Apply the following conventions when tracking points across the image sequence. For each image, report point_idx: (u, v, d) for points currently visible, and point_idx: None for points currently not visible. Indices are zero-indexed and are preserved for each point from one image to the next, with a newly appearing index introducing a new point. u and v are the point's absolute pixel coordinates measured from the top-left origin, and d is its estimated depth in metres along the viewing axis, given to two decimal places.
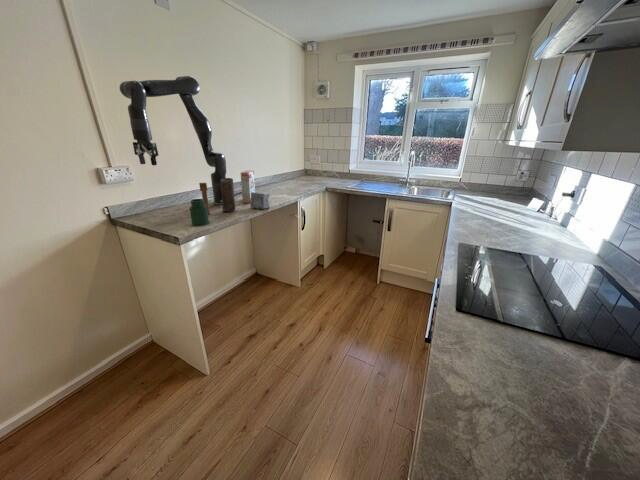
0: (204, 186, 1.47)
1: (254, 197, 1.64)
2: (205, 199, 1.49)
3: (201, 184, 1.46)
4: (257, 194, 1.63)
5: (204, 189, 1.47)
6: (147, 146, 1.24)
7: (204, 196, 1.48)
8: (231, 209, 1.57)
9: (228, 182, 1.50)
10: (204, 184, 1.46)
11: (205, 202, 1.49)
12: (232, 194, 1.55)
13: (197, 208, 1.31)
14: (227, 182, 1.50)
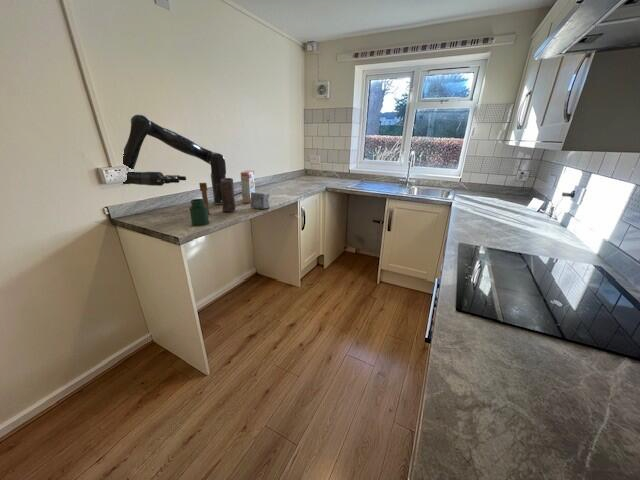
0: (204, 186, 1.47)
1: (254, 197, 1.64)
2: (205, 199, 1.49)
3: (201, 184, 1.46)
4: (257, 194, 1.63)
5: (204, 189, 1.47)
6: None
7: (204, 196, 1.48)
8: (231, 209, 1.57)
9: (228, 182, 1.50)
10: (204, 184, 1.46)
11: (205, 202, 1.49)
12: (232, 194, 1.55)
13: (197, 208, 1.31)
14: (227, 182, 1.50)
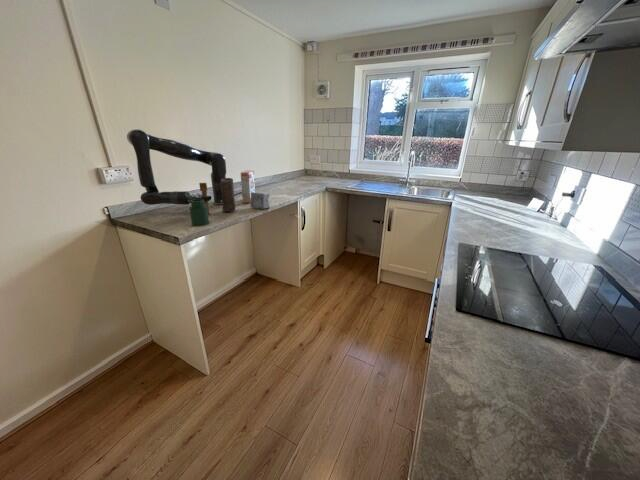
0: (204, 186, 1.47)
1: (254, 197, 1.64)
2: None
3: (201, 184, 1.46)
4: (257, 194, 1.63)
5: (204, 189, 1.47)
6: None
7: (204, 196, 1.48)
8: (231, 209, 1.57)
9: (228, 182, 1.50)
10: (204, 184, 1.46)
11: (205, 202, 1.49)
12: (232, 194, 1.55)
13: (197, 208, 1.31)
14: (227, 182, 1.50)
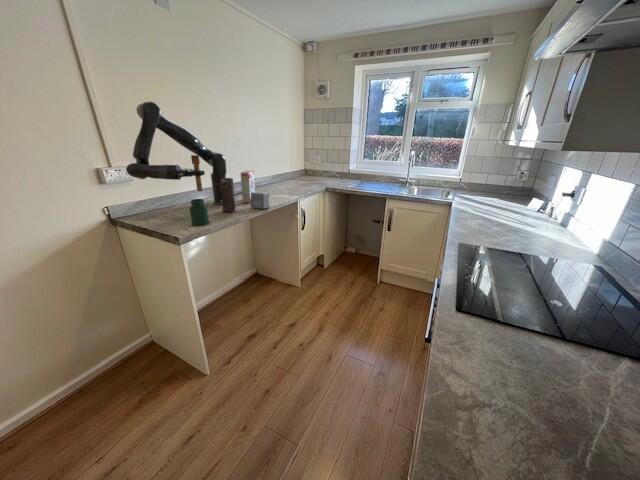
0: (196, 159, 1.34)
1: (254, 197, 1.64)
2: None
3: (193, 157, 1.33)
4: (257, 194, 1.63)
5: (196, 162, 1.34)
6: None
7: (196, 170, 1.35)
8: (231, 209, 1.57)
9: (228, 182, 1.50)
10: (196, 157, 1.33)
11: (197, 177, 1.36)
12: (232, 194, 1.55)
13: (197, 208, 1.31)
14: (227, 182, 1.50)
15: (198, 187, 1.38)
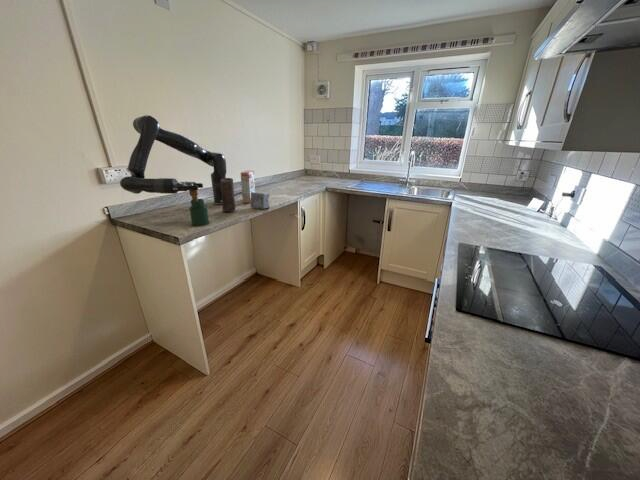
0: (194, 190, 1.31)
1: (254, 197, 1.64)
2: None
3: None
4: (257, 194, 1.63)
5: (194, 194, 1.31)
6: None
7: None
8: (231, 209, 1.57)
9: (228, 182, 1.50)
10: None
11: None
12: (232, 194, 1.55)
13: (197, 208, 1.31)
14: (227, 182, 1.50)
15: None
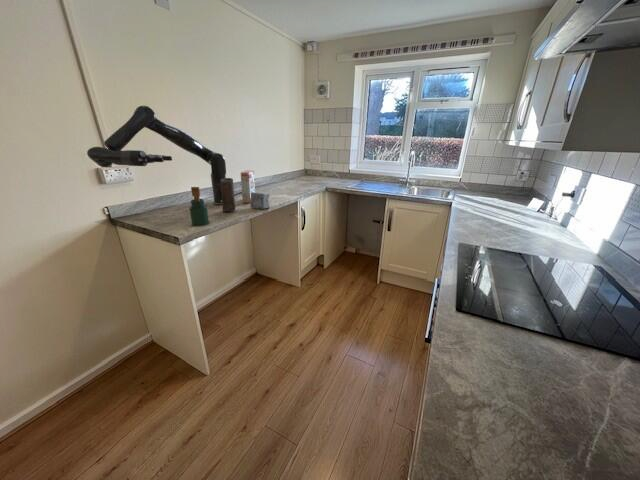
0: (196, 191, 1.31)
1: (254, 197, 1.64)
2: None
3: (193, 188, 1.30)
4: (257, 194, 1.63)
5: (196, 194, 1.31)
6: None
7: None
8: (231, 209, 1.57)
9: (228, 182, 1.50)
10: (196, 188, 1.30)
11: None
12: (232, 194, 1.55)
13: (197, 208, 1.31)
14: (227, 182, 1.50)
15: None
